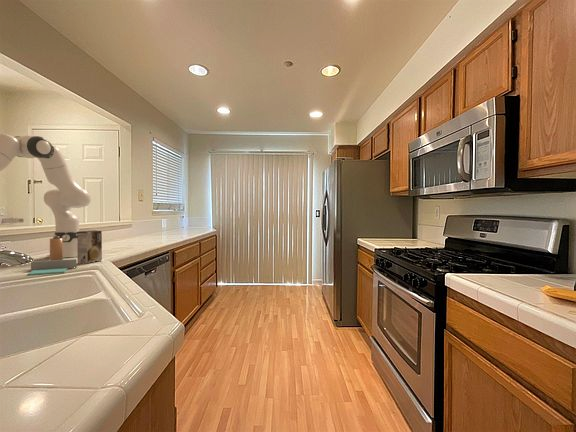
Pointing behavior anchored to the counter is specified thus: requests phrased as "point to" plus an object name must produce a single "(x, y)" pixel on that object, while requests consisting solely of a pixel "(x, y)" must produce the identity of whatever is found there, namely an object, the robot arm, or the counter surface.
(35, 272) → the pad
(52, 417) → the counter surface
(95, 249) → the coffee box
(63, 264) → the acrylic wall
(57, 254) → the amber bottle
